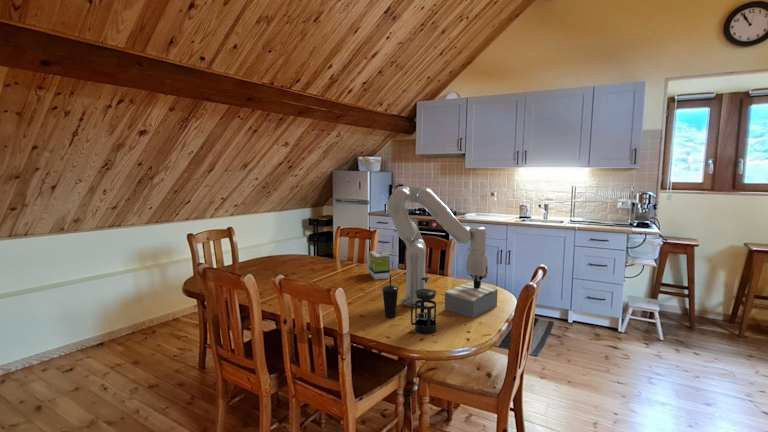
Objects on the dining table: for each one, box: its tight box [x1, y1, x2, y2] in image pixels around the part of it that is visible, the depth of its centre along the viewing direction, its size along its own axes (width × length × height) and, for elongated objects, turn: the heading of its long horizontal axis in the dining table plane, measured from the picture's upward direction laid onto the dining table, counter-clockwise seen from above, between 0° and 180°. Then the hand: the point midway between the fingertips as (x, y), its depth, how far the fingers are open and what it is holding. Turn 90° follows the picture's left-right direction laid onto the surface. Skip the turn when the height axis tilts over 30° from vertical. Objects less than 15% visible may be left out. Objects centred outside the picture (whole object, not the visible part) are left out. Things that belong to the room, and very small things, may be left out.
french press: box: [410, 276, 437, 335], centre depth 175 cm, size 12×9×23 cm
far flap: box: [458, 282, 498, 294], centre depth 206 cm, size 11×16×1 cm
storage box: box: [444, 291, 498, 319], centre depth 203 cm, size 22×16×8 cm
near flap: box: [444, 285, 486, 301], centre depth 198 cm, size 11×16×1 cm
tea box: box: [368, 250, 391, 280], centre depth 259 cm, size 15×10×15 cm, turn 17°
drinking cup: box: [381, 274, 399, 319], centre depth 191 cm, size 8×8×20 cm
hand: (477, 287), depth 205 cm, fingers closed
